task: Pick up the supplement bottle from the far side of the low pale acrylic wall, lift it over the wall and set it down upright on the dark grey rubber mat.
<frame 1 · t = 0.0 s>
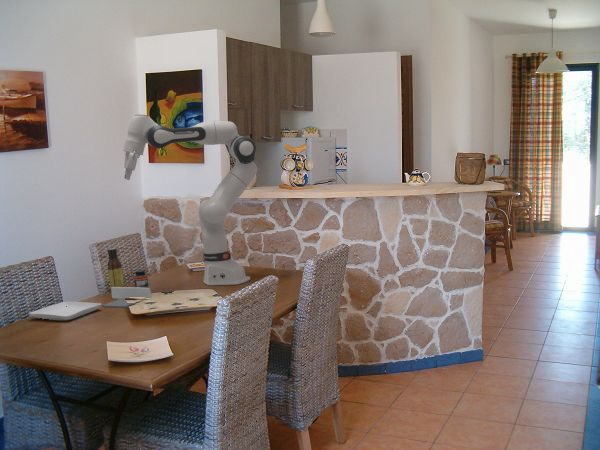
hand: (126, 179, 328), 52 cm above the table, tool tilted 20°, fingers open, 8 cm apart
sauce bottle: (117, 290, 342), on the table
rubber mat: (122, 303, 312), on the table
salad plate: (66, 316, 299), on the table
acrylic wall: (131, 298, 321), on the table
supplement bottle: (142, 295, 327), on the table
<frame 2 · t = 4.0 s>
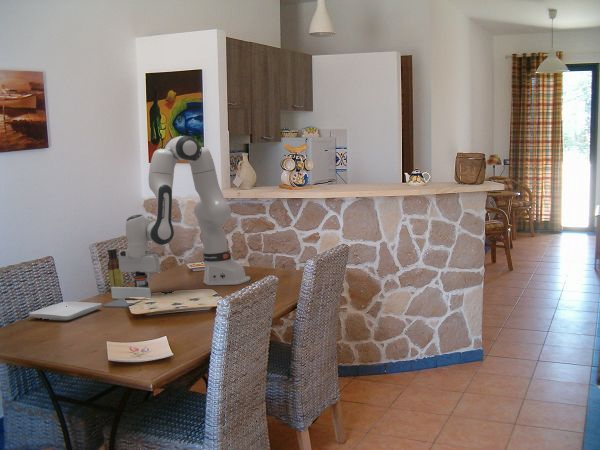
hand: (141, 281, 326), 6 cm above the table, tool pointing down, fingers closed on supplement bottle, 6 cm apart
supplement bottle: (142, 295, 327), on the table, touching gripper
everything else where it was.
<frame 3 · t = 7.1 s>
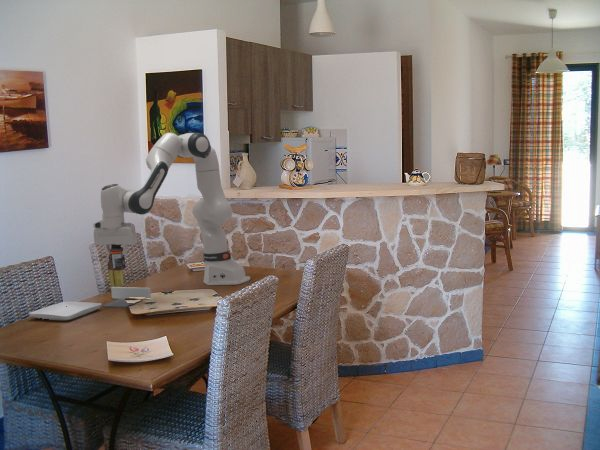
hand: (117, 255, 309), 21 cm above the table, tool pointing down, fingers closed on supplement bottle, 6 cm apart
supplement bottle: (118, 270, 310), point 15 cm above the table, touching gripper
everything else where it was.
when the fingers open (8 cm above the table, at t = 10.5 s): supplement bottle stays where it is, resting on rubber mat.
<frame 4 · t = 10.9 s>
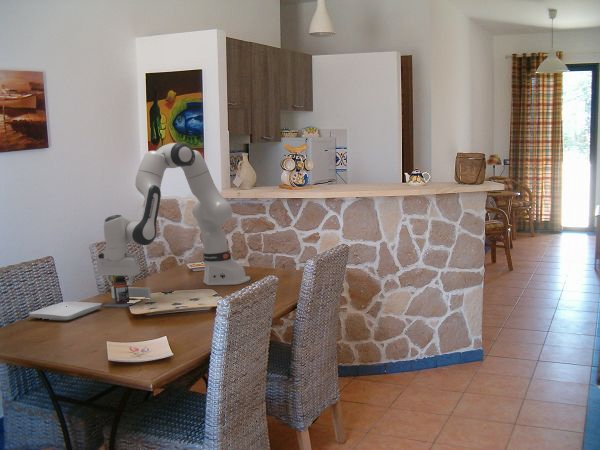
hand: (120, 285, 311), 8 cm above the table, tool pointing down, fingers open, 8 cm apart
supplement bottle: (122, 302, 312), resting on rubber mat
everything else where it was.
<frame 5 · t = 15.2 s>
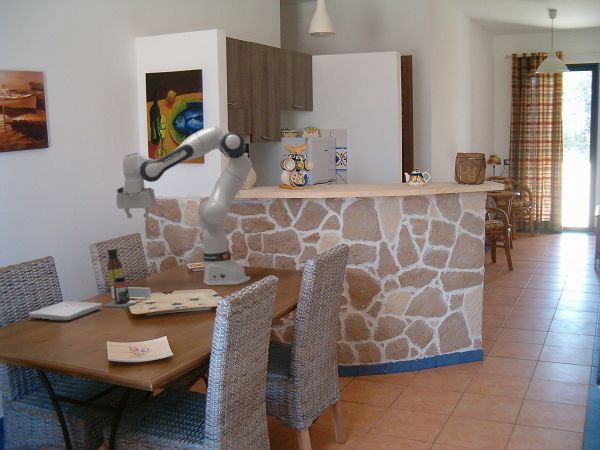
hand: (137, 217, 341), 33 cm above the table, tool pointing down, fingers open, 8 cm apart
nothing on the table moved.
at the end: supplement bottle inside the target area on the rubber mat (0.1 cm from its centre), point 0.4 cm above the rubber mat's base; supplement bottle tilted 0°; the gripper is holding nothing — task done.
